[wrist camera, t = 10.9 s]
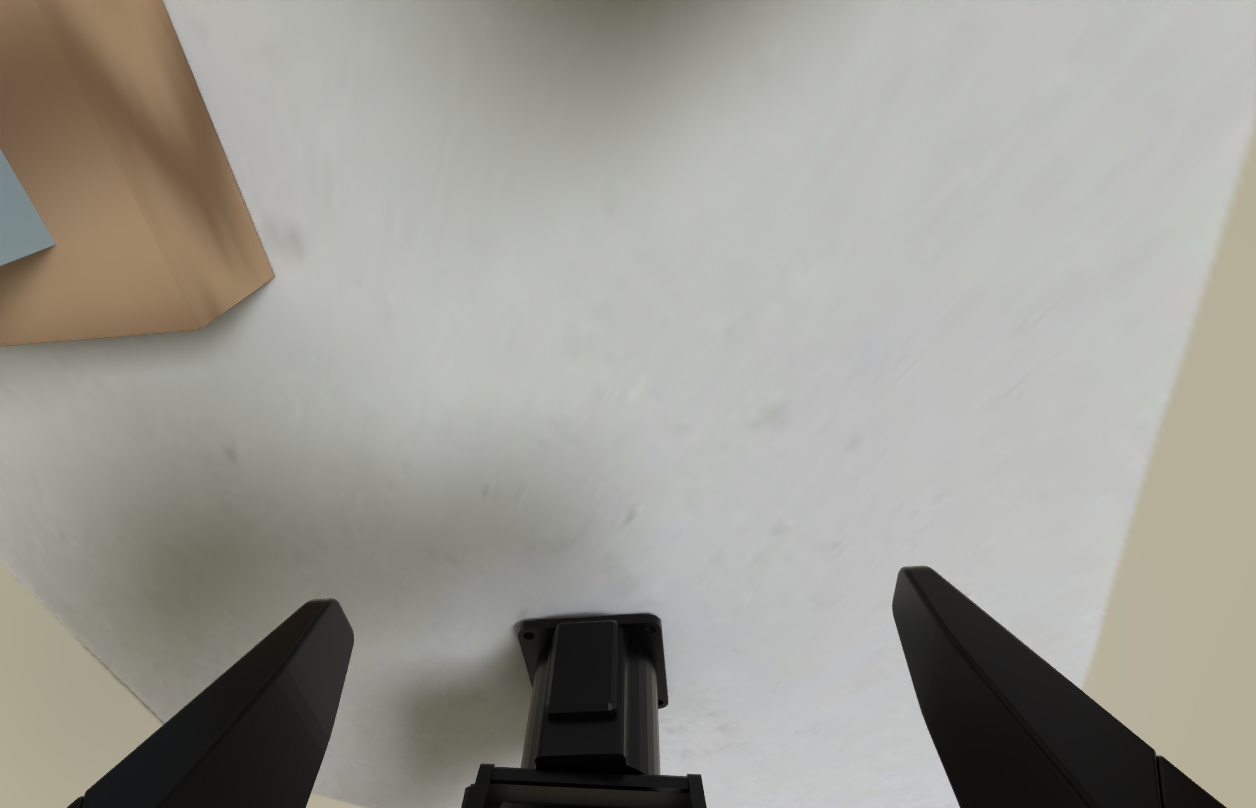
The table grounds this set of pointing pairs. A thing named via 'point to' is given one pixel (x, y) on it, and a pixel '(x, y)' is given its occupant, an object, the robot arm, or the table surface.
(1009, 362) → the table surface
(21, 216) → the slate block
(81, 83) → the walnut block
